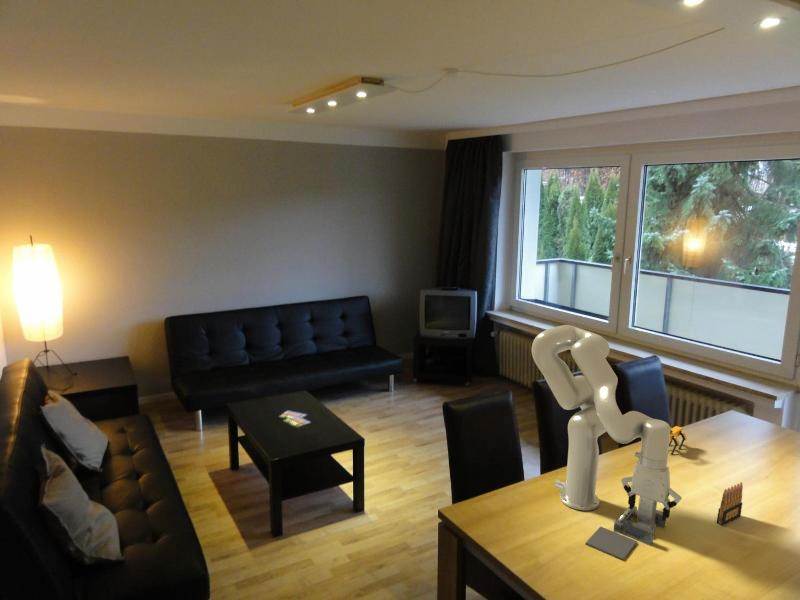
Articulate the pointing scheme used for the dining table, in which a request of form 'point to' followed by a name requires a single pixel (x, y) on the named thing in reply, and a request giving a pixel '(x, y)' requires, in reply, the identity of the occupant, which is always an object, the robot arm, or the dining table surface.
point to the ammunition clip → (730, 505)
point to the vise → (637, 526)
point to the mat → (611, 543)
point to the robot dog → (674, 434)
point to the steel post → (647, 513)
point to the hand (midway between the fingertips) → (648, 513)
